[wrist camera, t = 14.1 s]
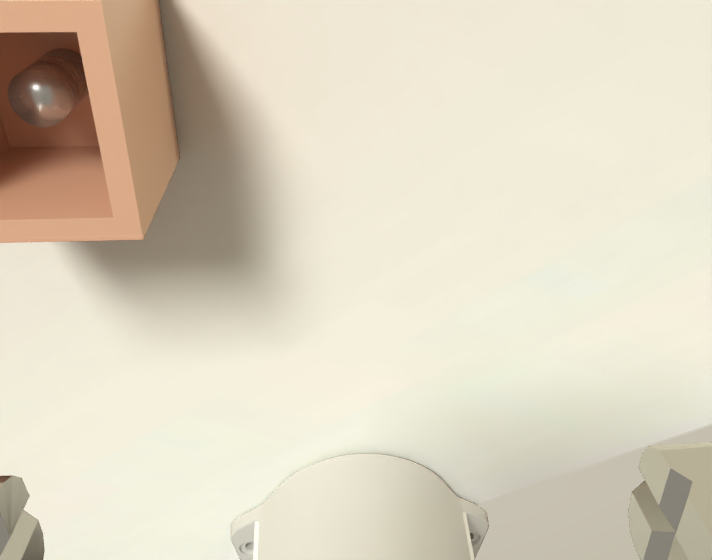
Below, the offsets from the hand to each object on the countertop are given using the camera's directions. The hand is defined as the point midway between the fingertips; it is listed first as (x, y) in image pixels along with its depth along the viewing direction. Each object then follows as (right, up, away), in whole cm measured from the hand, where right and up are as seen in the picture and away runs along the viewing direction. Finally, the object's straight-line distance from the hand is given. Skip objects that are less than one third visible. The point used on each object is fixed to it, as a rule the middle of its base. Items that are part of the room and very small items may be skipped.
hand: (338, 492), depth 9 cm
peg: (-13, +12, +23) cm, 29 cm away
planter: (-13, +13, +24) cm, 30 cm away
